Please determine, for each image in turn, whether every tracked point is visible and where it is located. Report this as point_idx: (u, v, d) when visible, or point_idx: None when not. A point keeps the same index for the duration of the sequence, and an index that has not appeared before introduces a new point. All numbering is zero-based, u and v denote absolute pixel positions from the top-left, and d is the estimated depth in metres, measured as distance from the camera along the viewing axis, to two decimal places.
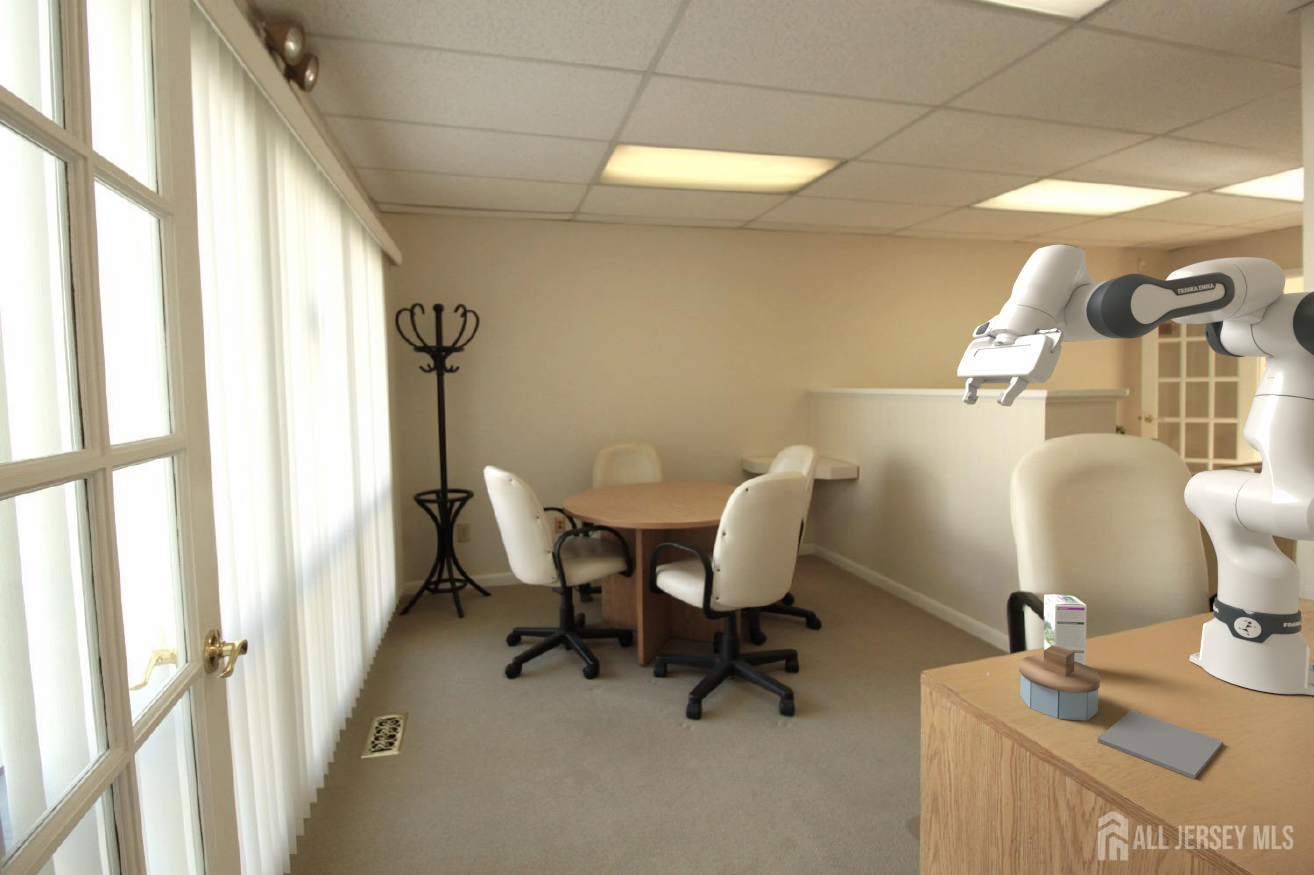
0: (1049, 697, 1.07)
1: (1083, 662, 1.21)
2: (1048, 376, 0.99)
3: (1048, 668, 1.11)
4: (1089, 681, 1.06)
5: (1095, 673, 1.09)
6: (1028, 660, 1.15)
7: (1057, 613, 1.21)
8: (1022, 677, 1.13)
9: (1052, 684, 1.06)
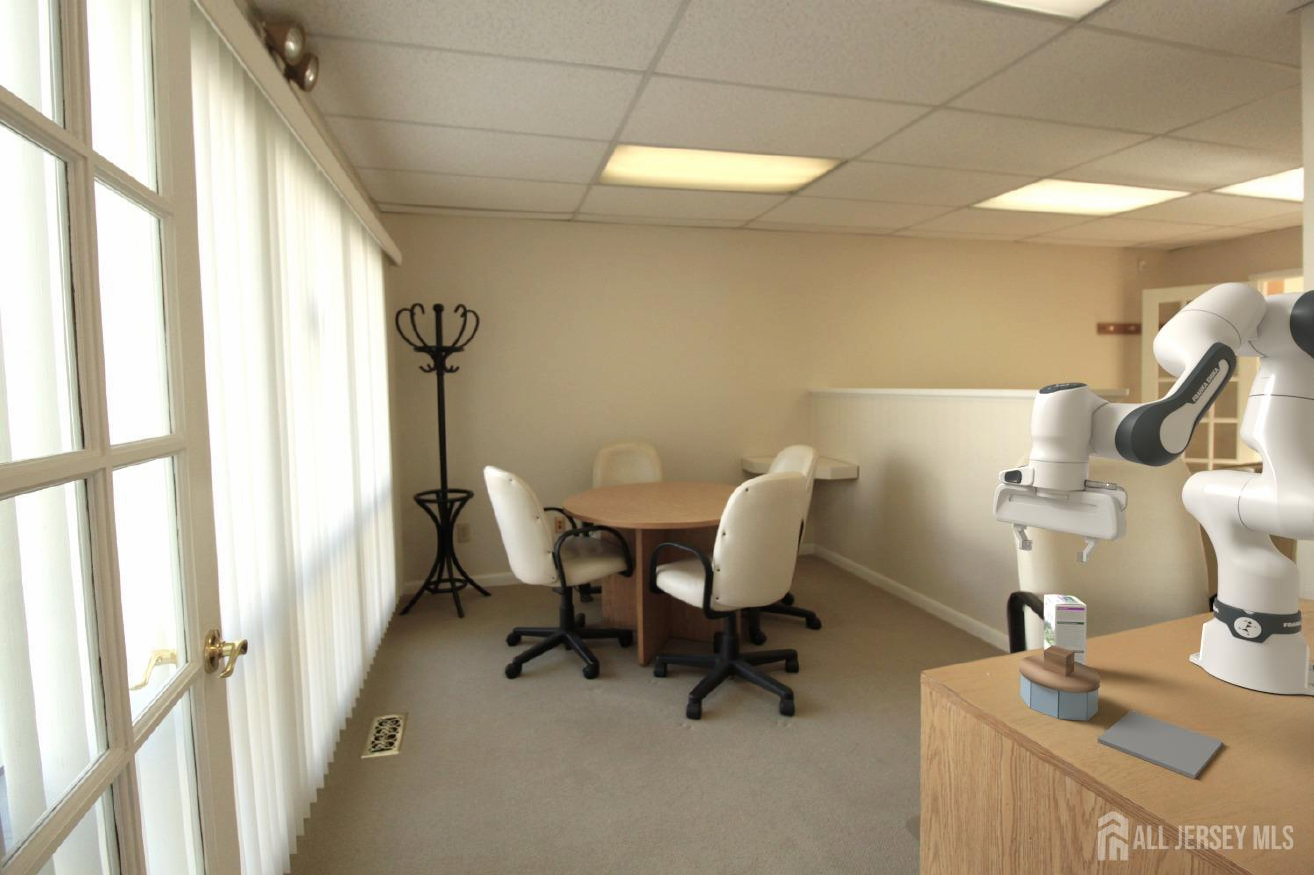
0: (1049, 697, 1.07)
1: (1083, 662, 1.21)
2: (1125, 533, 1.01)
3: (1048, 668, 1.11)
4: (1089, 681, 1.06)
5: (1095, 673, 1.09)
6: (1028, 660, 1.15)
7: (1057, 613, 1.21)
8: (1022, 677, 1.13)
9: (1052, 684, 1.06)
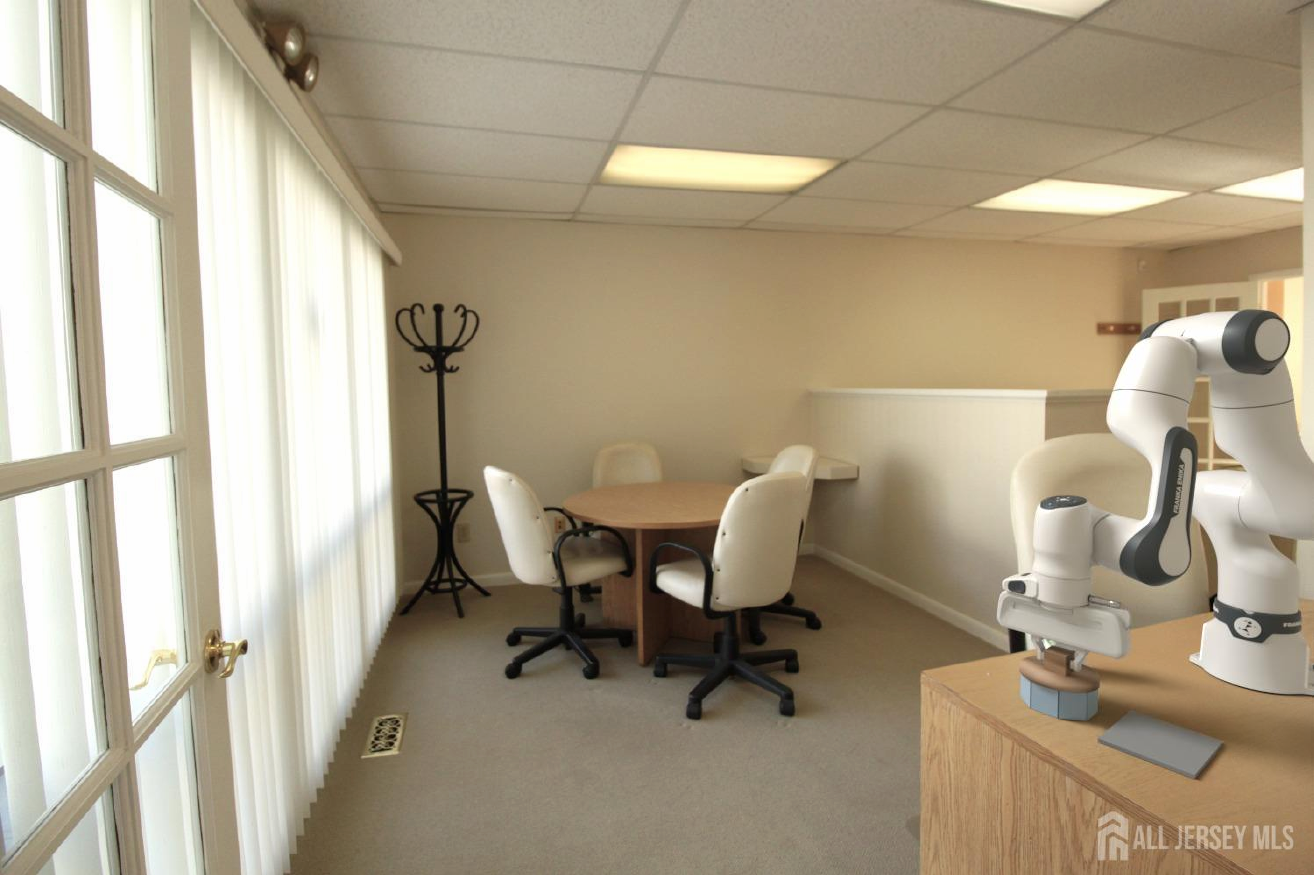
0: (1049, 697, 1.07)
1: (1083, 662, 1.21)
2: (1130, 650, 1.03)
3: (1048, 668, 1.11)
4: (1089, 681, 1.06)
5: (1095, 673, 1.09)
6: (1028, 660, 1.15)
7: None
8: (1022, 677, 1.13)
9: (1052, 684, 1.06)
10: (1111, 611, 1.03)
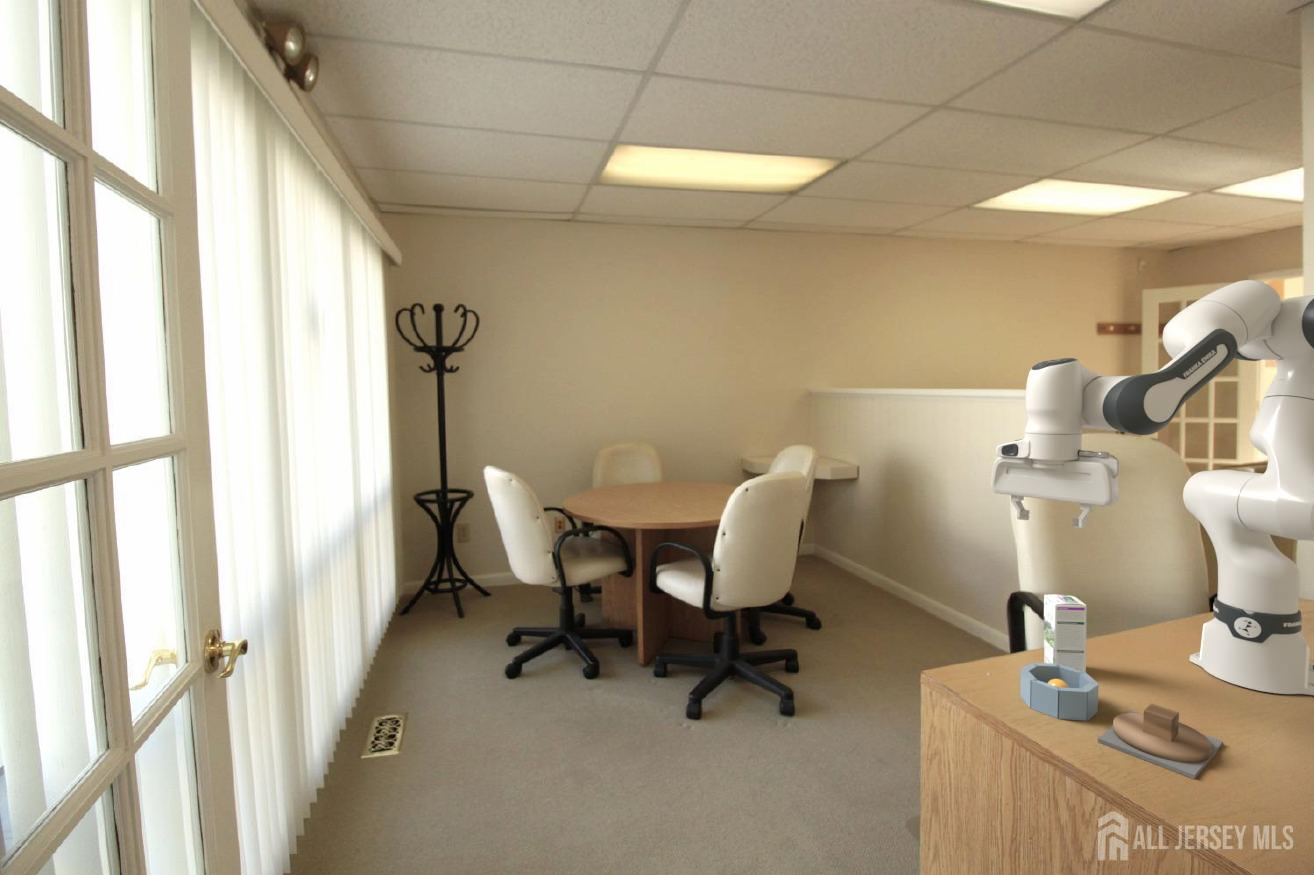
0: (1049, 697, 1.07)
1: (1083, 662, 1.21)
2: None
3: (1149, 731, 0.98)
4: (1200, 748, 0.94)
5: (1203, 737, 0.97)
6: (1122, 719, 1.02)
7: (1057, 613, 1.21)
8: (1022, 677, 1.13)
9: (1158, 752, 0.94)
10: (1100, 462, 1.07)
